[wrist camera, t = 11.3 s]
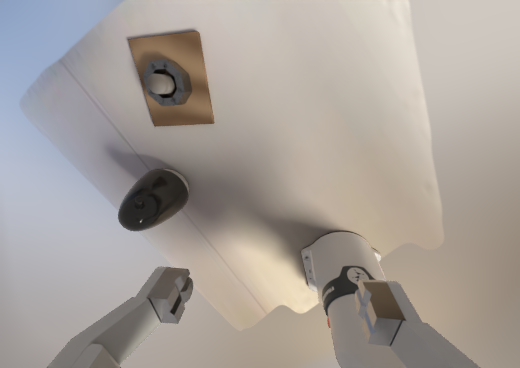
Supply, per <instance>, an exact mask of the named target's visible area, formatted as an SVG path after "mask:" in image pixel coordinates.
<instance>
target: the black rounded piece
mask: <svg viewBox="0 0 520 368" xmlns="http://www.w3.org/2000/svg"><path fill="white" fill-rule="evenodd" d="M188 196H189V186H188V183H187V181H186V180H185V178H184V177H183V176H182V175H181V174H179V173H178V172H176V171H174V170H170V169H155V170H151V171H149V172H148V173H146V174H145V175H144V176H143V177H141V178H140V179H139V180H138V181H137V182H136V183H135V185H134V186H133V187H132V188H131V189H130V191H129V192H128V194H127V195H126V196H125V198H124V200H123V201H122V203H121V206H120V209H119V213H118V219H119V222H120V224H121V225H122V226H123V227H124V228H126V229H128V230H130V231H142V230H147V229H150V228H152V227H155V226H157V225H159V224H161V223H162V222H164V221H166V220H168V219H169V218H171V217H172V216H174V215H175V214H176V213H177V212H179V211H180V210H181V209H182V208H183V207H184V206H185V205H186V203H187V201H188Z"/></svg>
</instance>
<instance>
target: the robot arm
mask: <svg viewBox="0 0 520 368" xmlns="http://www.w3.org/2000/svg"><path fill="white" fill-rule="evenodd" d="M301 254H302V259H303V263H304V268H305V272H306V276H307V281H308V285H309V289H310V290H312V291H314V292H317V293H318V299H319V302H320V303H321V304H323V307H324V310H325V312H326V315H327V316H328V326H329V328H331V334H332V339H333V344H334V350H335V355H336V359H337V361H338V363H339V365H340V367H341V368H480V367H479V366H478V365H477V364H476V363H474V362H473V361H472V360H471V359H469V358H468V357H467V356H466V355H465V354H463V353H462V352H461V351H460V350H459V349H457V348H456V347H455V346H454V345H453V344H451V343H450V342H449V341H448V340H447V339H445V338H444V337H443V336H442V335H441V334H439V333H438V332H437V331H436V330H435V329H433V328H432V327H431V326H430V325H429V324H427V323H423V322H422V321H421V319H420V317H419V315H418V314H417V312H416V310H415V309H414V307H413V305H412V304H411V302H410V300H409V299H408V297H407V295H406V293H405V292H404V290H403V288H402V287H401V285H400V284H399V283H398V282H397V281H386V279H385V276H384V274H383V271H382V269H381V267H380V264H379V261H380V259H381V255H380V253H379V252H378V251H376V250H374V249H373V248H371V247H370V245H369V244H368V242H367V241H366V240H365V239H364V238H362V237H361V236H359V235H357V234H354V233H350V232H334V233H330V234H327V235H324V236H322V237H321V238H319V239H318V240H317V241H316V242H315V243H313V244H312V245H311V246H309V247H306V248H304V249H303V250H302V251H301ZM306 256H307V257H306ZM189 274H190V272H189V270H188V269H183V268H171V267H158V268H156V269H155V271H154V272H153V273H152V275H151V276H150V277H149V279H148V280H147V282H146V283H145V284H144V286H143V287H142V288H141V290H140V291H139V293H138V294H137V296H136V297H132V298H130V299H129V300H127V301H126V302H124V303H123V304H122V305H120V306H119V307H117V308H116V309H114V310H113V311H111V312H110V313H109V314H107V315H106V316H104V317H103V318H101V319H100V320H98V321H97V322H96V323H94V324H93V325H91V326H90V327H88V328H87V329H85V330H84V331H82V332H81V333H79V334H78V335H77V336H75V337H74V338H72V339H71V340H70V341H69V342H68V343H67V345H66V346H65V347H64V348H63V349H62V350H61V352H60V353H59V354H58V355H57V356H56V357H55V359H54V360H53V361H52V362H51V363H50V364H49V366H48V367H47V368H121V367H120V366H119V365H120V364H121V363H122V362H123V361H124V360H125V359H126V358H127V357H128V356H129V355H130V354H131V353H132V352H133V351H134V350H135V349H136V348H137V347H138V346H139V345H140V344H141V343H142V342H143V341H144V340H145V339H146V338H147V337H148V336H149V335H150V334H151V333H152V332H153V331H154V330H155V329H156V328H157V327H158V326H159V325H160V324H161V323H162V322H163V323H176V324H178V323H179V320H180V318H181V316H182V314H183V312H184V310H185V307H184V304H185V302H187V301H188V300H189V299H190V296H191V294H192V290H193V281H192V279H191V278H190V277H188V276H189Z"/></svg>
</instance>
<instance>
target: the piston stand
mask: <svg viewBox="0 0 520 368" xmlns="http://www.w3.org/2000/svg"><path fill="white" fill-rule="evenodd" d="M128 41H129V44H130V47H131V51H132V54H133V57H134V60H135V64H136V67H137V70H138V74H139V77H140V80H141V83H142V87H143V90H144V93H145V97H146V100H147V103H148V107H149V110H150V113H151V116H152V120H153V123H154V126H174V125H195V124H213V123H214V118H213V112H212V106H211V100H210V94H209V88H208V82H207V76H206V70H205V64H204V58H203V52H202V46H201V40H200V34H199V32H197V31H195V32H186V33H178V34H169V35H161V36H153V37H144V38H136V39H128ZM165 59H166V60H171V61H175V62H177V63H178V64H179V65H180V66H181V67H182V68H183V69H184V70H185V71H186V72H188V73H189V76H190V81H191V86H192V91H193V92H192V93H191V95H190V97H189V98H188V100H187V102H186V103H185V104H182V105H174V106H161V105H160V104H159V103H158V102H156V101H155V100H154V99H153V98H152V97H150V96H149V95H148V92H147V89H146V86H145V82H144V79H143V74H144V72H145V70H146V68H147V66H148V63H149V61H155V60H165ZM148 86H149V88H150V90H151V91H152V92H154V93H156V94H168V95H170V96H171V97H173V96H174V94H175V92H176V90H177V86H176V82H175V78H174V76H173V75H172V74H170V73H169V72H168V71H165V73H164V74H151V75H150V76H149V77H148Z"/></svg>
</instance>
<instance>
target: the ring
mask: <svg viewBox="0 0 520 368" xmlns="http://www.w3.org/2000/svg"><path fill="white" fill-rule="evenodd" d="M165 71H168V72H169V73H170V74H172V75H173V76H174V78H175V82H176V86H177V90H176V92H175V94H174V96H173V97H171V96H170V95H168V94H156V93H154V92H152V91H151V90H150V88H149V86H148V77H149V76H150V75H151V74H164V73H165ZM143 79H144V82H145V86H146V89H147V92H148V95H149V96H150V97H152V98H153V99H154V100H155V101H156V102H158V103H159V104H160V105H161V106H174V105H182V104H185V103H186V102H187V100H188V98H189V97H190V95H191V93H192V92H193V91H192V86H191V81H190V76H189V73H188V72H186V71H185V70H184V69H183V68H182V67H181V66H180V65H179V64H178V63H177V62H175V61H171V60H166V59H165V60H155V61H149V63H148V66H147V68H146V70H145V72H144V74H143Z"/></svg>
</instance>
